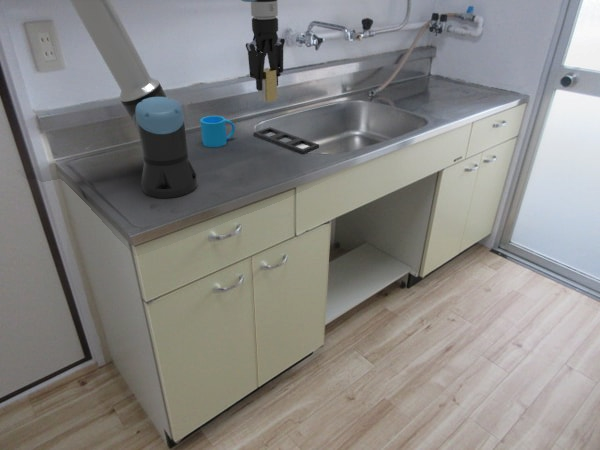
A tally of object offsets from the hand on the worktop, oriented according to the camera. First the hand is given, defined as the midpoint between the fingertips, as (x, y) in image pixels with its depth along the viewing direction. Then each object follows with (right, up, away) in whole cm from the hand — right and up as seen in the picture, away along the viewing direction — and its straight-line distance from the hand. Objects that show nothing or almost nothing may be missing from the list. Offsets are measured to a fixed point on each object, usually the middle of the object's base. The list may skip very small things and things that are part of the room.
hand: (267, 98), depth 143 cm
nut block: (0, 0, 0) cm, 0 cm away
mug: (-18, -11, +15) cm, 26 cm away
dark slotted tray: (+5, -11, +16) cm, 20 cm away
